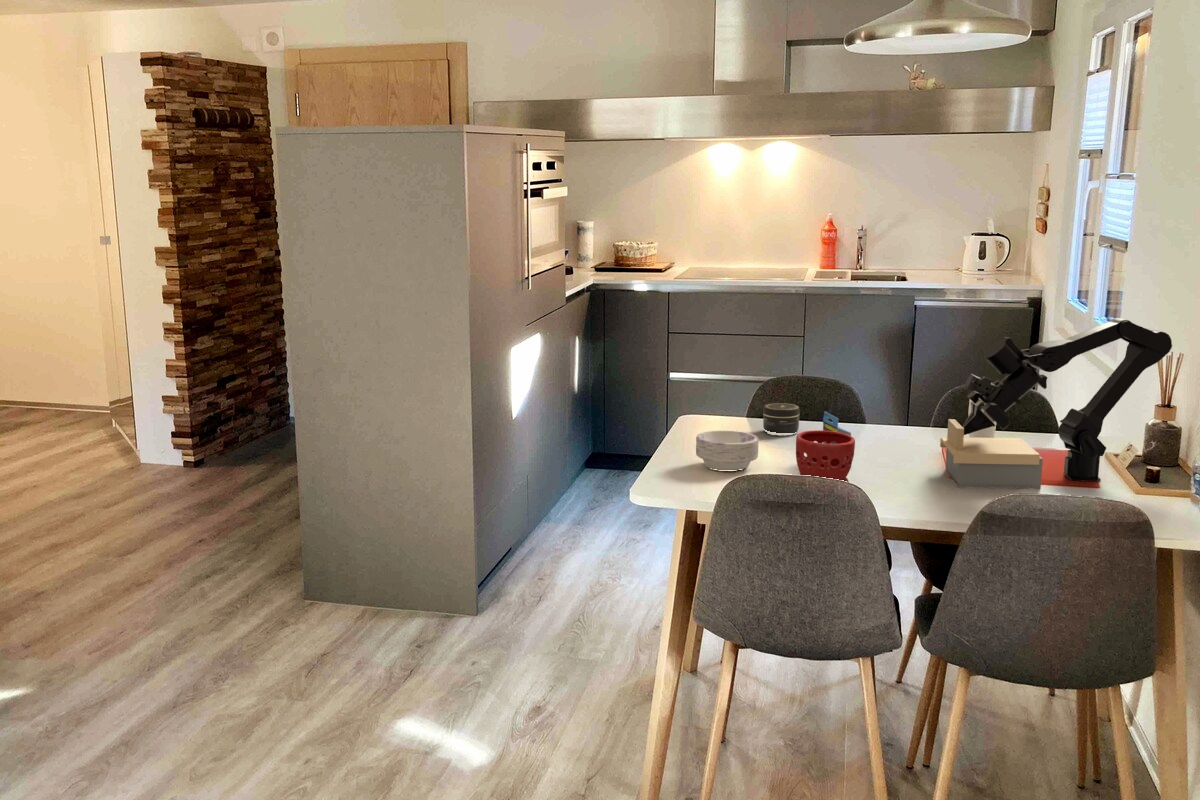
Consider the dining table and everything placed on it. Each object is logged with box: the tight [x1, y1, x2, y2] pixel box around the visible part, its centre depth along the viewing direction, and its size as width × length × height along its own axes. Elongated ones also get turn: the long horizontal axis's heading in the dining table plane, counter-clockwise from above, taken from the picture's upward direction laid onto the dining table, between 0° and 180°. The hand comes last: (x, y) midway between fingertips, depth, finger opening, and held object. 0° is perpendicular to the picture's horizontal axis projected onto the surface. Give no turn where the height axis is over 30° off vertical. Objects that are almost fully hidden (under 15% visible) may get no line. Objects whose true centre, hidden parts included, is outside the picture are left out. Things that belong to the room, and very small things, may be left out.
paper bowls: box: [695, 429, 760, 470], centre depth 258 cm, size 15×15×8 cm
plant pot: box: [795, 429, 856, 483], centre depth 240 cm, size 13×13×12 cm
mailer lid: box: [939, 418, 1041, 465], centre depth 243 cm, size 18×16×7 cm
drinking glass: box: [967, 398, 997, 438], centre depth 263 cm, size 7×7×15 cm
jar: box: [762, 402, 800, 433], centre depth 295 cm, size 10×10×8 cm
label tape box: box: [822, 411, 852, 460], centre depth 261 cm, size 9×4×12 cm, turn 12°
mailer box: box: [944, 448, 1043, 490], centre depth 244 cm, size 18×14×7 cm
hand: (960, 434), depth 244 cm, fingers closed, pressing on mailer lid
